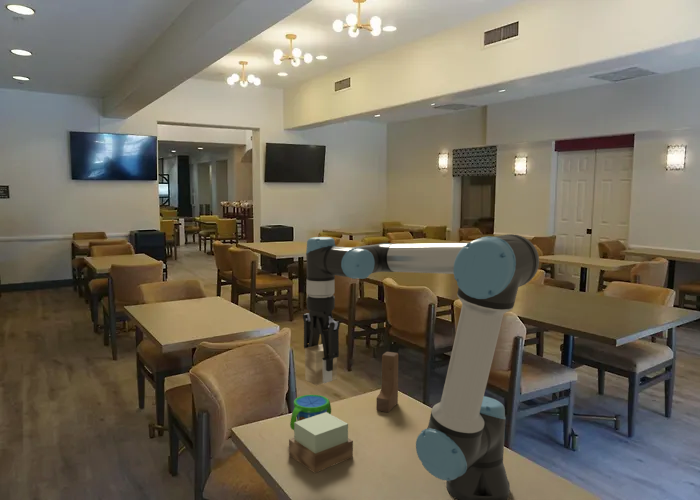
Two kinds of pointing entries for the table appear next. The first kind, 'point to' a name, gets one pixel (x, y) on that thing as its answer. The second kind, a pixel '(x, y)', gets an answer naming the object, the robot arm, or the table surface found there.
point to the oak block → (316, 365)
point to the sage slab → (320, 432)
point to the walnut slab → (320, 455)
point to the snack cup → (309, 407)
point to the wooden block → (388, 382)
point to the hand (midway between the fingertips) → (320, 378)
